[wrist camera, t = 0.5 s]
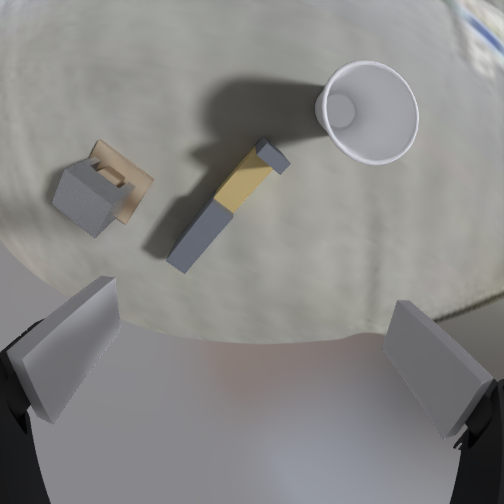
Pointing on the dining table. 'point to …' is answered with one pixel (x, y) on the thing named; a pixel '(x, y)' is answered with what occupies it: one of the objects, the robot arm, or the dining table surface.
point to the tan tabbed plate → (122, 176)
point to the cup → (368, 112)
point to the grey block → (90, 196)
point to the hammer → (226, 203)
